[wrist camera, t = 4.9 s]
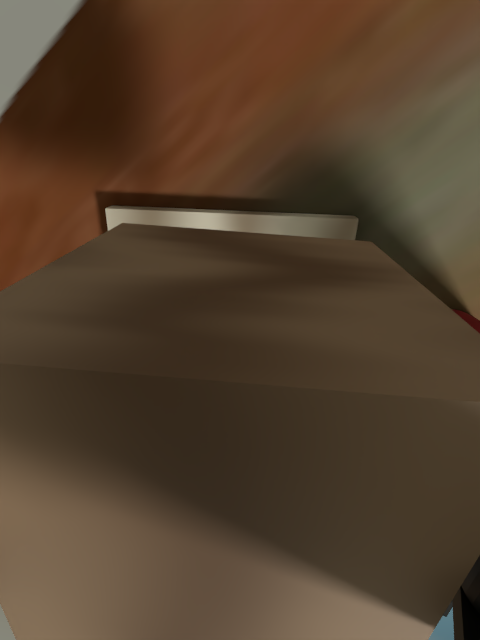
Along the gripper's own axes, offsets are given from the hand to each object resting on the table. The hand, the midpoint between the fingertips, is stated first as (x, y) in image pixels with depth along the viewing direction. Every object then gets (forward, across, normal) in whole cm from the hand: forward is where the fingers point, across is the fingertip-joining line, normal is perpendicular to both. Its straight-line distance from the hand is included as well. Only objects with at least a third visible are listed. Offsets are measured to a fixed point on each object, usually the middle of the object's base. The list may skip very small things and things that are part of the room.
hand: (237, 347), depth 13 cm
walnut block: (0, 0, 0) cm, 0 cm away
